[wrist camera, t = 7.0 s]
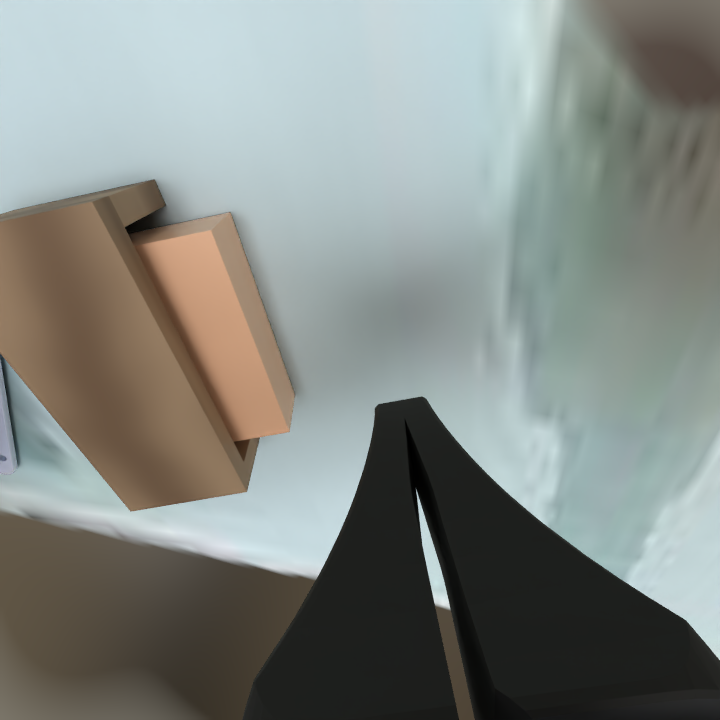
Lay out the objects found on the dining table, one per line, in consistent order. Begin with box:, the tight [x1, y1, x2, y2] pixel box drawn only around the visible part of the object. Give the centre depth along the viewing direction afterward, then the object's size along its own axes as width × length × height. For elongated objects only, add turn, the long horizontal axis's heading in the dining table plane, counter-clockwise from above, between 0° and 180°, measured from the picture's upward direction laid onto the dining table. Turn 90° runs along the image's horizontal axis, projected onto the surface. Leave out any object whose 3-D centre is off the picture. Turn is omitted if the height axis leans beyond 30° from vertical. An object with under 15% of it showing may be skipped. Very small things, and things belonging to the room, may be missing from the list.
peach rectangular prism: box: [128, 212, 295, 442], centre depth 18 cm, size 7×10×3 cm
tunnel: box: [0, 180, 260, 511], centre depth 17 cm, size 6×14×5 cm, turn 10°
